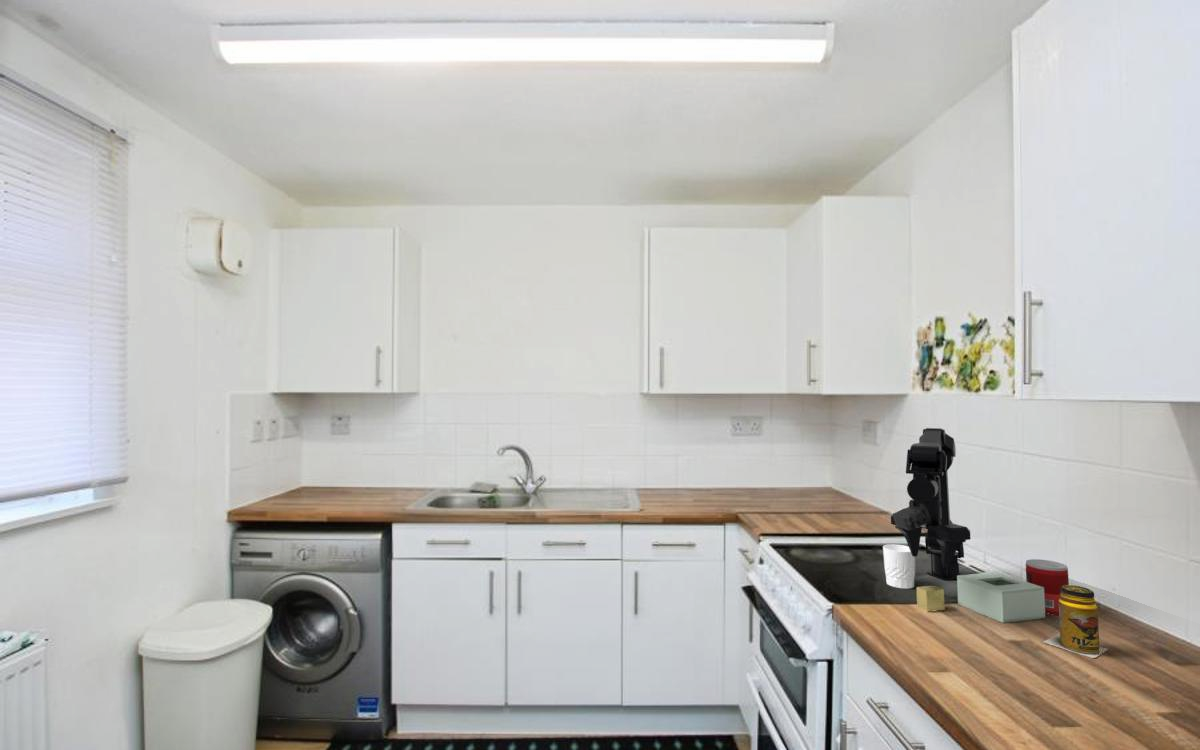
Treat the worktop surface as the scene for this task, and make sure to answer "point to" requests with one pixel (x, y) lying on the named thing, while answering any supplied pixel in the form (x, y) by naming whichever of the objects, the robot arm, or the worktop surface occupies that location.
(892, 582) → the white cup
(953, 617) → the worktop surface
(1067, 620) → the condiment
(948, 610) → the worktop surface
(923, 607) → the yellow block
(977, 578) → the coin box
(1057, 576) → the canned food
